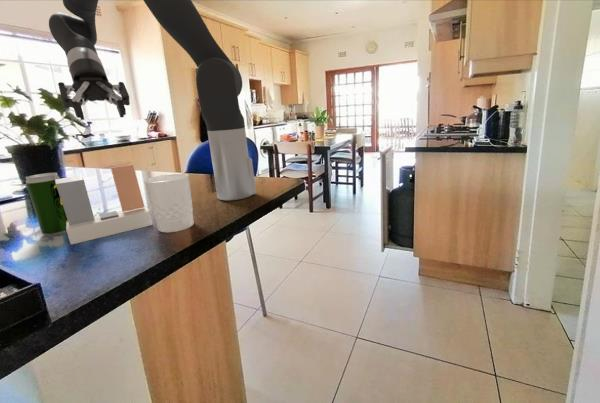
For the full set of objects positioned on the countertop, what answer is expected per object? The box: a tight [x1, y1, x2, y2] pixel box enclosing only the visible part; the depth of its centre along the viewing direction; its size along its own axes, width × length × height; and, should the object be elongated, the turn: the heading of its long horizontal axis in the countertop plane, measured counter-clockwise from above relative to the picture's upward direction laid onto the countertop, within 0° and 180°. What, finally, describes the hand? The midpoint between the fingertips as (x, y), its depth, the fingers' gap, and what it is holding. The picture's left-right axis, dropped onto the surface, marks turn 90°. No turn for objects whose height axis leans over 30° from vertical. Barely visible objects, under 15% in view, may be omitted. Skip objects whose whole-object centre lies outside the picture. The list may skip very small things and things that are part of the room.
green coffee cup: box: [25, 172, 68, 238], centre depth 63 cm, size 5×5×12 cm
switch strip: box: [66, 205, 153, 245], centre depth 63 cm, size 14×6×3 cm, turn 125°
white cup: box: [143, 172, 195, 233], centre depth 61 cm, size 8×8×10 cm
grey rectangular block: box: [55, 175, 95, 225], centre depth 57 cm, size 4×2×9 cm, turn 125°
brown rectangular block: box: [110, 164, 145, 212], centre depth 65 cm, size 4×2×9 cm, turn 125°
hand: (102, 115), depth 74 cm, fingers open, 7 cm apart
